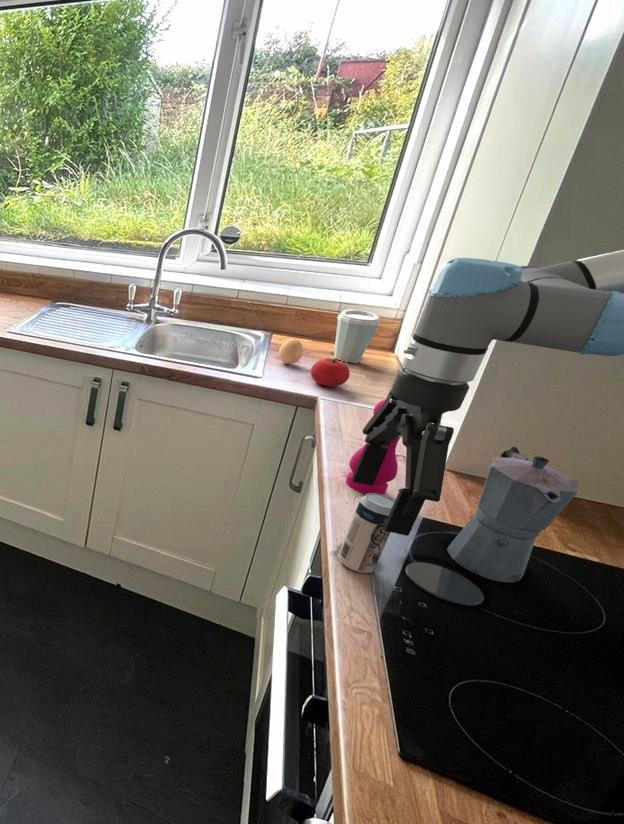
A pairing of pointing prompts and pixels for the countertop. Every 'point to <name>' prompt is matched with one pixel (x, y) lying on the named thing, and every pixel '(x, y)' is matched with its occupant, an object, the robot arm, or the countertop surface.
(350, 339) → the disposable coffee cup
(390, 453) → the pepper mill
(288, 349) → the egg
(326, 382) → the tomato
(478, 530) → the moka pot
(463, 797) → the countertop surface
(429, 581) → the slate coaster
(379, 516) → the beer can
